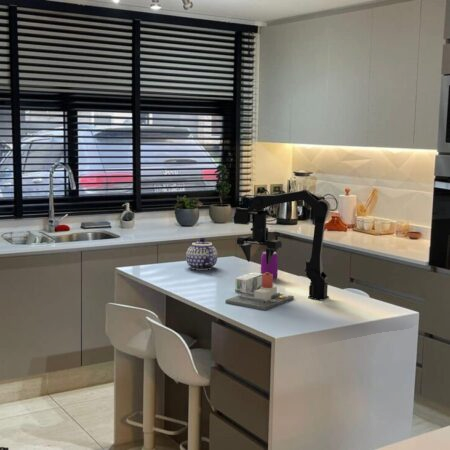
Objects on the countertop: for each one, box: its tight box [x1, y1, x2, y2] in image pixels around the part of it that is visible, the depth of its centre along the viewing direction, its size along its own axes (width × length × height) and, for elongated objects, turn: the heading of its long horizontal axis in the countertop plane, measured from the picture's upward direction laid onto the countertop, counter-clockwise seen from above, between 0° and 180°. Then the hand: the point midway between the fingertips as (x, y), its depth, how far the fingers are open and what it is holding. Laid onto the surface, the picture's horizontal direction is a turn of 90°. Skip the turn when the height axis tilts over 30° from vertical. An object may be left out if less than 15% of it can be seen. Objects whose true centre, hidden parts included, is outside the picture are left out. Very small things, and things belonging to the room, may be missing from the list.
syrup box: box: [234, 271, 262, 294], centre depth 296 cm, size 6×6×14 cm
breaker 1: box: [254, 288, 271, 302], centre depth 274 cm, size 5×4×4 cm
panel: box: [225, 288, 295, 311], centre depth 277 cm, size 18×22×2 cm
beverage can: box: [260, 250, 279, 281], centre depth 316 cm, size 8×8×12 cm
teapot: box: [185, 237, 218, 271], centre depth 336 cm, size 25×15×15 cm, turn 20°
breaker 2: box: [259, 285, 278, 295], centre depth 281 cm, size 5×4×4 cm
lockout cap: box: [262, 272, 274, 288], centre depth 280 cm, size 4×4×6 cm
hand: (258, 263), depth 289 cm, fingers open, 9 cm apart
